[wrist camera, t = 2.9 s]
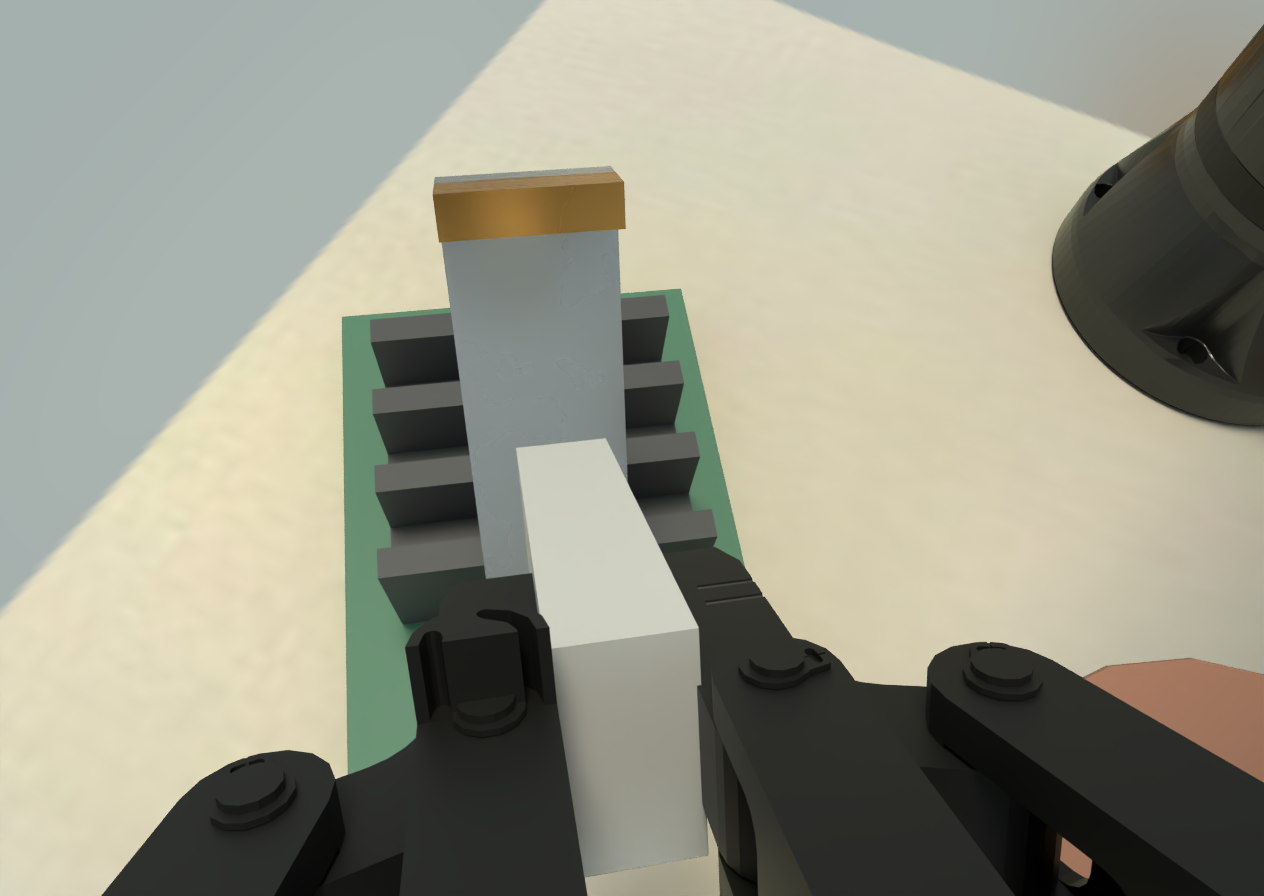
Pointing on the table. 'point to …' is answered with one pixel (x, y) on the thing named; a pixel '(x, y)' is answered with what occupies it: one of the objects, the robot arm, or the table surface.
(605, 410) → the silver flat bar
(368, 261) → the table surface
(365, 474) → the cpu board
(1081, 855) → the coffee jar
